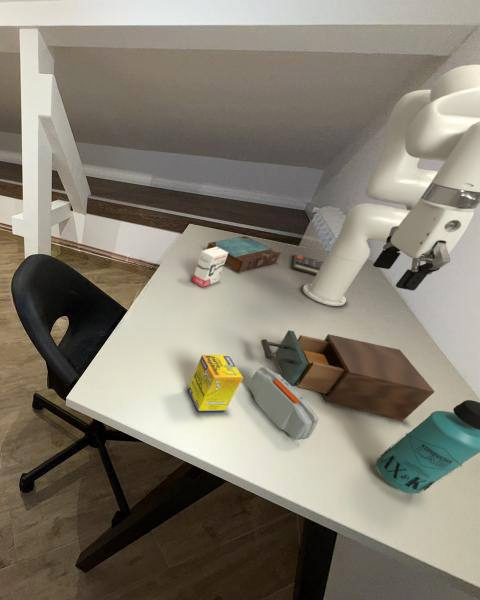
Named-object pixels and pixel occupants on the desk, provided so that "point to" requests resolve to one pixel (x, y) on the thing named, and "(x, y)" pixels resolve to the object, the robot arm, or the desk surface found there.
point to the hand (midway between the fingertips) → (391, 277)
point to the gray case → (283, 404)
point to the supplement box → (214, 383)
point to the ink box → (209, 266)
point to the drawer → (295, 362)
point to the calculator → (306, 264)
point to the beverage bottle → (433, 448)
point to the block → (313, 359)
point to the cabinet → (376, 380)
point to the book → (246, 253)
